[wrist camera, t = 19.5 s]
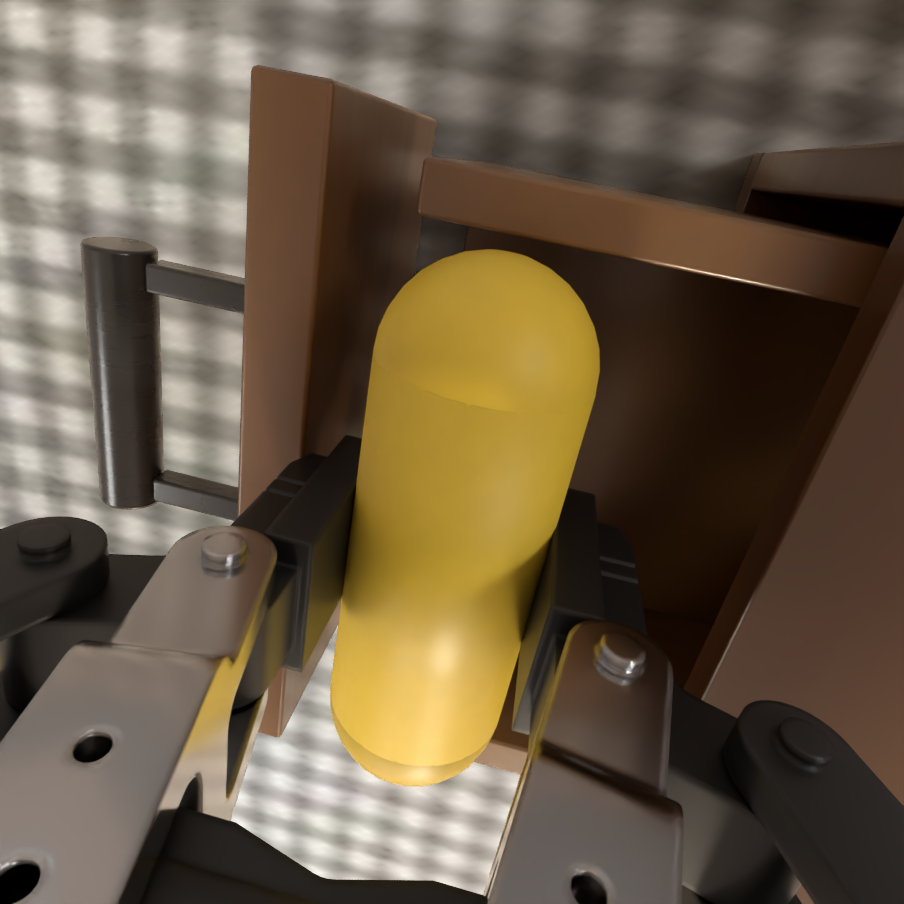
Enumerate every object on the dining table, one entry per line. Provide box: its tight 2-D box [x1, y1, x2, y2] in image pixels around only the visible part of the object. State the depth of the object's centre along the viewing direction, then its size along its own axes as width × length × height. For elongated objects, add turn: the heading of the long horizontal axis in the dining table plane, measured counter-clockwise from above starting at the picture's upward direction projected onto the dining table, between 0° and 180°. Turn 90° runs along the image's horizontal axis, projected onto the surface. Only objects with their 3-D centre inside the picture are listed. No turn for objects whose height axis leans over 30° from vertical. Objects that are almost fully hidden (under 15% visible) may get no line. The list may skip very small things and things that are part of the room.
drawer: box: [80, 65, 891, 775], centre depth 14 cm, size 19×13×7 cm
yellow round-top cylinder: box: [330, 249, 600, 786], centre depth 10 cm, size 10×3×3 cm, turn 170°
